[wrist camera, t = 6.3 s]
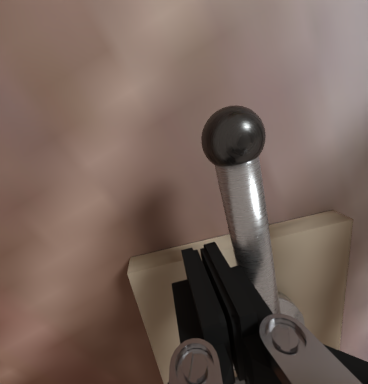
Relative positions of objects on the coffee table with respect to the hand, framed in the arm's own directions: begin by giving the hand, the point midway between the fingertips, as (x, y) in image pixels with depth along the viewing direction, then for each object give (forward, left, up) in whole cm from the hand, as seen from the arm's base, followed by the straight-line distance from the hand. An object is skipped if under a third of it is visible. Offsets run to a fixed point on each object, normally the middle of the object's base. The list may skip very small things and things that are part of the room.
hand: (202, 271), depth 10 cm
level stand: (-3, +10, -4) cm, 11 cm away
